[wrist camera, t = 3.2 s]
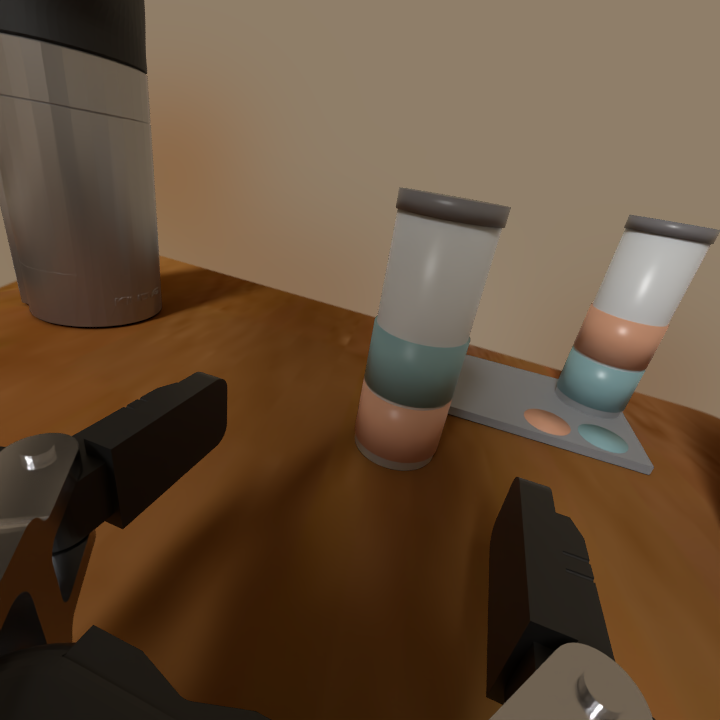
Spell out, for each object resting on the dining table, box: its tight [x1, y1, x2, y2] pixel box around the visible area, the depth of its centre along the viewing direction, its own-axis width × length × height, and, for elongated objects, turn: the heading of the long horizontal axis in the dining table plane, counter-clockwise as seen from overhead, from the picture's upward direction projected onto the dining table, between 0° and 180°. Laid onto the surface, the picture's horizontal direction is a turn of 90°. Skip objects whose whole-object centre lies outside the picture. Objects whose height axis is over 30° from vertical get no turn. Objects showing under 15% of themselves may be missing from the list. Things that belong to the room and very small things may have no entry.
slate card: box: [448, 355, 654, 475], centre depth 29 cm, size 14×10×1 cm
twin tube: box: [555, 215, 720, 419], centre depth 27 cm, size 5×5×13 cm
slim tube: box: [355, 188, 511, 471], centre depth 20 cm, size 5×5×13 cm
